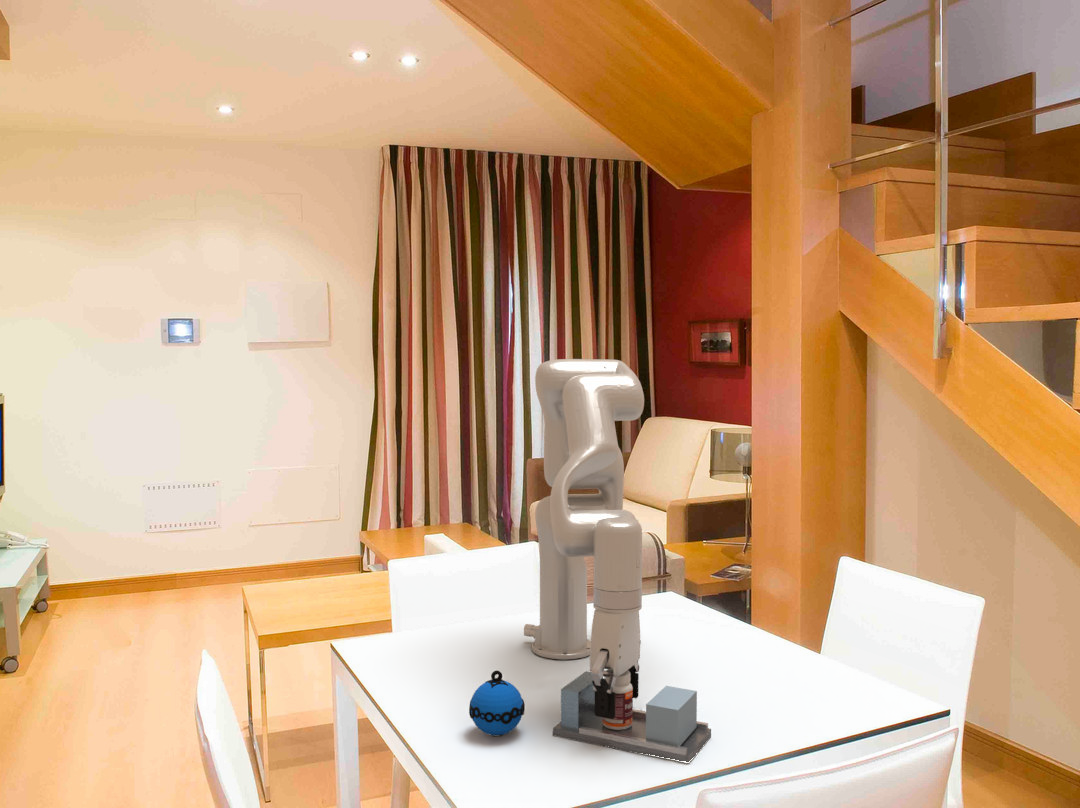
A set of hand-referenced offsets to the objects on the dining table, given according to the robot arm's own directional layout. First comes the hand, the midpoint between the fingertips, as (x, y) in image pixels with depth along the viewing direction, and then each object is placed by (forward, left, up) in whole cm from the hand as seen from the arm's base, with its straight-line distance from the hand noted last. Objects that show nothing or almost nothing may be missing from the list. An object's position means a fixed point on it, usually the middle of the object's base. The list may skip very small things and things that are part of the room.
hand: (617, 706), depth 142 cm
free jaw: (+9, 0, -3) cm, 9 cm away
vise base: (+3, 0, -4) cm, 5 cm away
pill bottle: (0, 0, -3) cm, 3 cm away
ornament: (-16, -9, -4) cm, 19 cm away
